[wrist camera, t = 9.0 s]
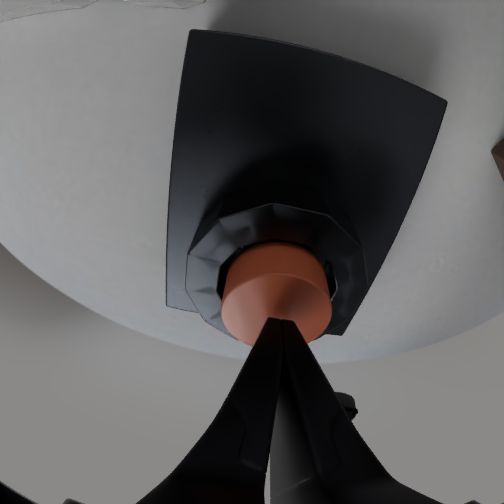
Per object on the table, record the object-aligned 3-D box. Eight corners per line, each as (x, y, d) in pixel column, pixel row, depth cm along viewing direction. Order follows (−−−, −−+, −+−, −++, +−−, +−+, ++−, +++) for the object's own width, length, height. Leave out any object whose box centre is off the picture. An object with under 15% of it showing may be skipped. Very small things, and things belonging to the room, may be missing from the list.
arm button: (308, 322, 12) (311, 356, 11) (221, 307, 12) (215, 341, 11) (339, 252, 10) (349, 286, 9) (235, 231, 10) (228, 263, 8)
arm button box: (336, 306, 17) (347, 365, 13) (176, 278, 16) (155, 334, 13) (422, 93, 10) (477, 111, 6) (203, 34, 9) (171, 21, 6)
